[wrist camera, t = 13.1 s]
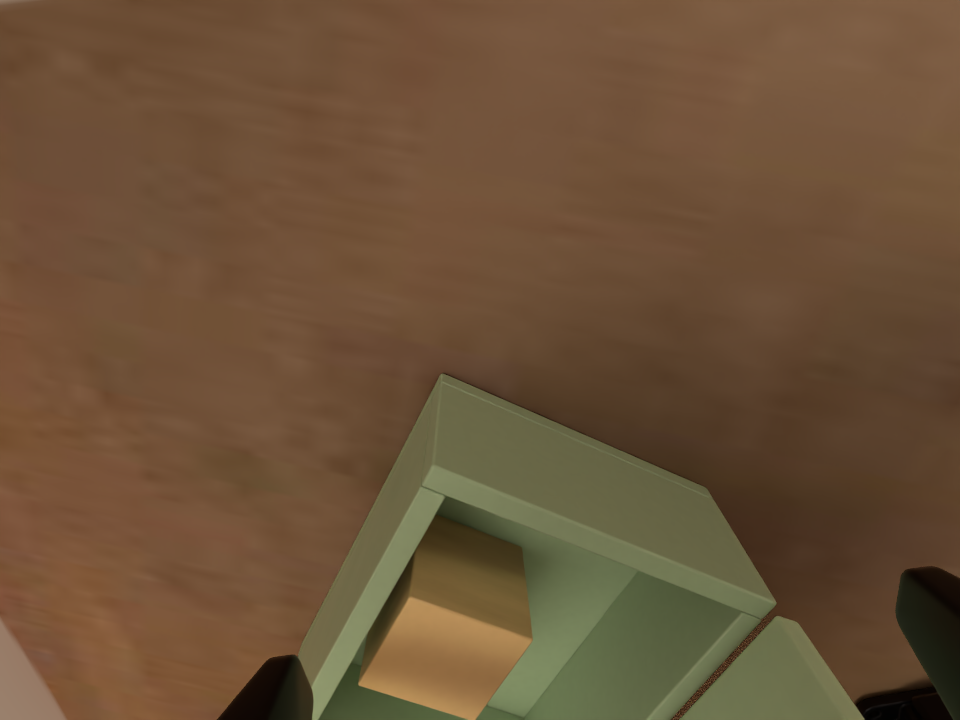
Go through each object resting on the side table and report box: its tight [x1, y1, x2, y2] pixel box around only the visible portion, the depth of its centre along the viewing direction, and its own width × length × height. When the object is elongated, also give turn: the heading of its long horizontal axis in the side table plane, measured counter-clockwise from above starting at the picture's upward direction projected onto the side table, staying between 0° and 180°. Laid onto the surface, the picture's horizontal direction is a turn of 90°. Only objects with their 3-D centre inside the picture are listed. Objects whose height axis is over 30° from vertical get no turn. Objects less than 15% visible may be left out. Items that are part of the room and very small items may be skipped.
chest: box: [298, 374, 776, 720], centre depth 20 cm, size 10×13×5 cm
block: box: [358, 515, 533, 720], centre depth 19 cm, size 4×4×4 cm
